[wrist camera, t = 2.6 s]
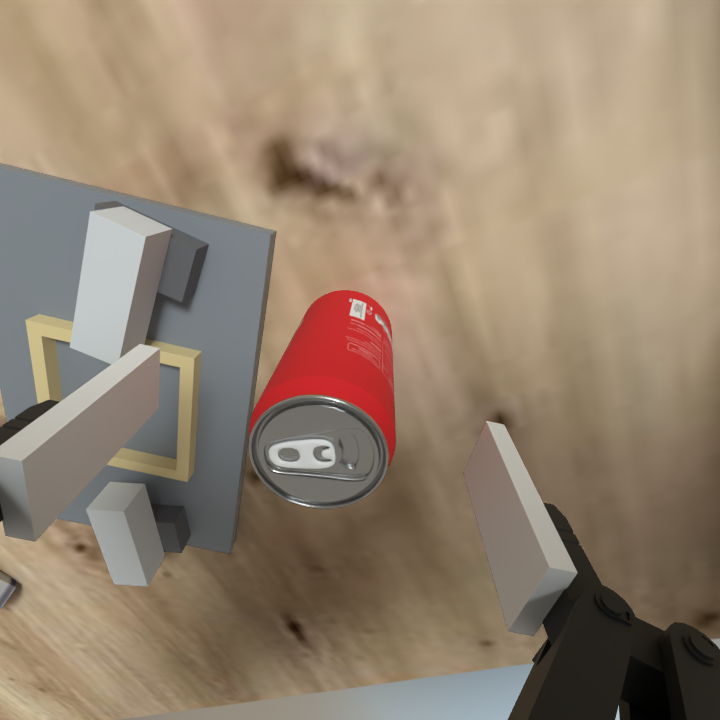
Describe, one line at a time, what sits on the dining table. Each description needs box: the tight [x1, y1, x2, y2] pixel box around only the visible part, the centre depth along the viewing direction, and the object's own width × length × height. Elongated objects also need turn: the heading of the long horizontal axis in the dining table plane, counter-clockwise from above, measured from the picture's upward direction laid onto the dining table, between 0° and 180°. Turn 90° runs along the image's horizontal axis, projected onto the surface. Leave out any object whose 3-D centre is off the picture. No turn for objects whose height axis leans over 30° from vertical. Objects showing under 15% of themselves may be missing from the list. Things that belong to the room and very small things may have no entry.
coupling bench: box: [0, 163, 276, 586], centre depth 25 cm, size 25×16×5 cm, turn 167°
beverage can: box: [249, 290, 396, 509], centre depth 19 cm, size 5×5×12 cm
